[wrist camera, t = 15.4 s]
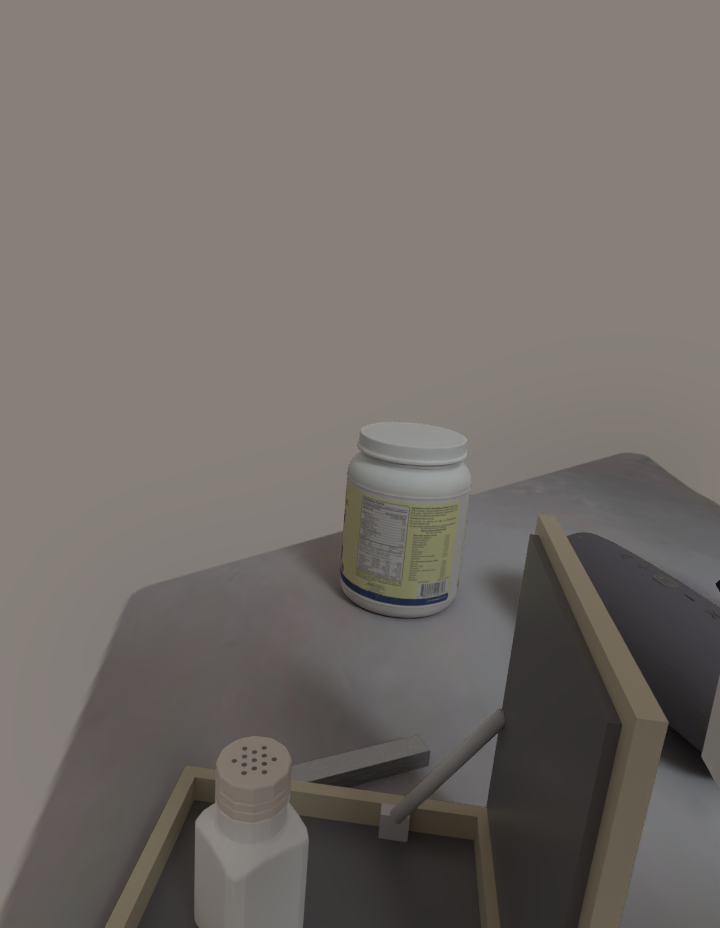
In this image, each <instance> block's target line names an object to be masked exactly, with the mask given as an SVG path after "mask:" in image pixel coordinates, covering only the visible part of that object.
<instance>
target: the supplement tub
mask: <svg viewBox="0 0 720 928" xmlns="http://www.w3.org/2000/svg"><path fill="white" fill-rule="evenodd" d="M357 445H358V448H359V450H360V451H361V452H359V453H358V454H357V455H355V457H353V459H352V460H351V462H350V464H349V467H348V472H347V475H348V477H347V489H346V502H345V515H344V529H343V542H342V555H341V568H340V583H341V587H342V589H343V591H344V593H345V594H346V595H347V597H348V598H349V599H351V600H352V601H353V602H354V603H356V604H357V605H359V606H361V607H363V608H365V609H367V610H369V611H372V612H375V613H378V614H382V615H386V616H391V617H400V618H419V617H426V616H430V615H433V614H436V613H438V612H440V611H442V610H444V609H445V608H447V607H448V606H449V605H450V604H451V603H452V602H453V600H454V598H455V596H456V593H457V591H458V583H459V575H460V568H461V560H462V553H463V546H464V538H465V531H466V523H467V515H468V508H469V500H470V492H471V487H472V484H471V482H472V480H471V474H470V472H469V470H468V468H467V467H466V465H465V464H464V463H463V462H462V461H463V460H465V459H466V457H467V452H466V445H467V439H466V437H464V436H463V435H461V434H460V433H457V432H455V431H452V430H449V429H446V428H442V427H437V426H432V425H426V424H419V423H407V422H382V423H374V424H369V425H366V426H364V427H362V428H361V430H360V438H359V441H358V444H357Z"/></svg>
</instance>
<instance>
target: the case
mask: <svg viewBox="0 0 720 928" xmlns="http://www.w3.org/2000/svg"><path fill="white" fill-rule="evenodd" d="M668 723H669V722H668V720H667V718H666V717H665V715H664V713H663V711H662V709H661V708H660V706H659V704H658V702H657V700H656V698H655V697H654V695H653V693H652V691H651V689H650V688H649V686H648V684H647V682H646V680H645V678H644V677H643V675H642V673H641V671H640V669H639V668H638V666H637V664H636V662H635V660H634V658H633V657H632V655H631V653H630V651H629V649H628V647H627V646H626V644H625V642H624V640H623V638H622V637H621V635H620V633H619V631H618V629H617V627H616V626H615V624H614V622H613V620H612V618H611V617H610V615H609V613H608V611H607V609H606V607H605V606H604V604H603V602H602V600H601V598H600V597H599V595H598V593H597V591H596V589H595V587H594V586H593V584H592V582H591V580H590V578H589V577H588V575H587V573H586V571H585V569H584V567H583V566H582V564H581V562H580V560H579V558H578V557H577V555H576V553H575V551H574V549H573V547H572V546H571V544H570V542H569V540H568V538H567V537H566V535H565V533H564V531H563V529H562V527H561V526H560V524H559V522H558V520H557V518H556V517H555V516H554V515H544V514H538V519H537V525H536V531H535V535H532V534H530V538H529V544H528V550H527V557H526V563H525V569H524V575H523V582H522V588H521V594H520V600H519V607H518V613H517V619H516V625H515V632H514V638H513V644H512V650H511V657H510V663H509V669H508V675H507V682H506V688H505V694H504V700H503V706H502V709H498V710H497V711H496V712H495V713H494V714H492V715H491V716H490V717H489V718H488V719H487V720H486V721H485V722H484V723H483V724H482V725H481V726H480V727H479V728H478V729H477V730H476V731H474V732H473V733H472V734H471V735H470V736H469V737H468V738H467V739H466V740H465V741H464V742H463V743H462V744H461V745H460V746H459V747H457V748H456V749H455V750H454V751H453V752H452V753H451V754H450V755H449V756H448V757H447V758H446V759H445V760H444V761H443V762H442V763H441V764H439V765H438V766H437V767H436V768H435V769H434V770H433V771H432V772H431V773H430V774H429V775H428V776H427V777H426V778H425V779H424V780H423V781H421V782H420V783H419V784H418V785H417V786H416V787H415V788H414V789H413V790H412V791H411V792H410V793H409V794H408V795H407V796H403V795H396V794H389V793H382V792H375V791H367V790H360V789H353V788H346V787H339V786H332V785H324V784H317V783H310V782H303V781H296V780H291V788H290V800H289V803H290V804H291V806H292V807H293V808H294V810H295V811H296V812H297V813H298V815H299V817H300V818H301V820H302V821H303V823H304V824H305V826H306V828H307V832H308V838H309V846H308V861H307V875H306V890H305V904H304V919H303V928H619V925H620V920H621V916H622V912H623V908H624V904H625V900H626V896H627V892H628V888H629V884H630V879H631V875H632V871H633V867H634V863H635V859H636V855H637V851H638V847H639V842H640V838H641V834H642V830H643V826H644V822H645V818H646V814H647V810H648V805H649V801H650V797H651V793H652V789H653V785H654V781H655V777H656V773H657V769H658V764H659V760H660V756H661V752H662V748H663V744H664V740H665V736H666V732H667V727H668ZM497 733H498V738H497V744H496V750H495V756H494V763H493V769H492V775H491V781H490V788H489V794H488V800H487V807H482V806H475V805H468V804H461V803H454V802H446V801H439V800H432V799H427V798H428V797H429V796H430V795H431V794H433V793H434V792H435V791H436V790H437V789H438V788H439V787H440V786H441V785H442V784H443V783H444V782H445V781H447V780H448V779H449V778H450V777H451V776H452V775H453V774H454V773H455V772H456V771H457V770H458V769H459V768H461V767H462V766H463V765H464V764H465V763H466V762H467V761H468V760H469V759H470V758H471V757H472V756H473V755H475V754H476V753H477V752H478V751H479V750H480V749H481V748H482V747H483V746H484V745H485V744H486V743H487V742H489V741H490V740H491V739H492V738H493V737H494V736H495V735H496V734H497ZM215 775H216V769H210V768H202V767H195V766H188V765H186V766H185V768H184V770H183V772H182V774H181V776H180V778H179V780H178V782H177V784H176V786H175V788H174V790H173V792H172V794H171V796H170V798H169V800H168V802H167V804H166V806H165V808H164V810H163V812H162V814H161V816H160V818H159V820H158V822H157V824H156V826H155V828H154V830H153V832H152V834H151V836H150V838H149V840H148V842H147V844H146V846H145V848H144V850H143V852H142V854H141V856H140V858H139V860H138V862H137V864H136V866H135V868H134V870H133V872H132V874H131V876H130V878H129V880H128V882H127V884H126V886H125V888H124V890H123V892H122V894H121V896H120V898H119V900H118V902H117V904H116V906H115V908H114V910H113V912H112V914H111V916H110V918H109V920H108V922H107V924H106V926H105V928H199V927H198V926H197V924H196V922H195V918H194V882H195V821H196V819H197V818H198V817H199V815H200V814H201V813H202V812H203V811H204V810H205V809H207V808H208V807H210V806H211V805H213V804H214V803H216V802H215V787H216V785H215V779H216V776H215Z"/></svg>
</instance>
